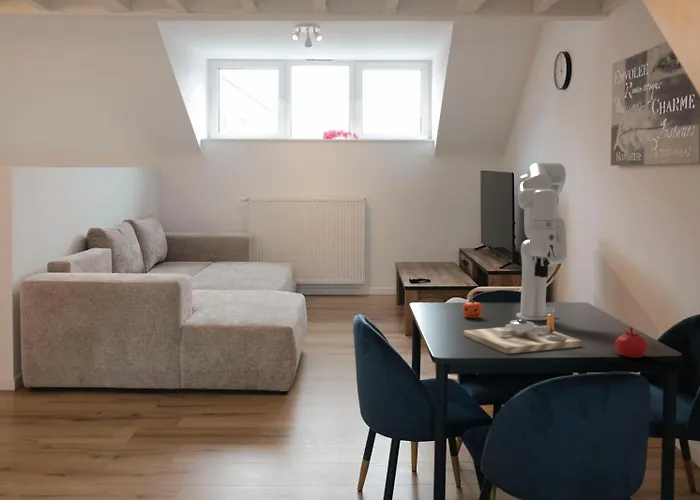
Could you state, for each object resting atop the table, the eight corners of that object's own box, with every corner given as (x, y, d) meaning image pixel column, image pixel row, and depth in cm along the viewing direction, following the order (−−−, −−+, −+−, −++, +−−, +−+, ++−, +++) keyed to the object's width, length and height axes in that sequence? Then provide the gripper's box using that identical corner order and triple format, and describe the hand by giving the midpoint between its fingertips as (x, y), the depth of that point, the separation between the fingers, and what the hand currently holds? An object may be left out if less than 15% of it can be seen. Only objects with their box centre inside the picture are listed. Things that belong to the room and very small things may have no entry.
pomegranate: (630, 361, 221) (632, 332, 219) (607, 353, 230) (608, 325, 228) (654, 358, 225) (656, 329, 223) (630, 350, 234) (632, 322, 232)
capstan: (515, 341, 234) (515, 323, 233) (486, 330, 249) (487, 313, 249) (568, 336, 242) (569, 319, 241) (538, 326, 257) (538, 309, 257)
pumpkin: (463, 315, 288) (464, 297, 288) (483, 316, 286) (484, 298, 285) (460, 318, 281) (461, 300, 280) (480, 320, 279) (481, 301, 278)
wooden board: (534, 330, 262) (534, 324, 262) (581, 346, 238) (581, 340, 238) (463, 335, 251) (463, 329, 251) (505, 353, 227) (506, 347, 227)
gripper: (566, 226, 245) (564, 279, 247) (538, 223, 260) (536, 273, 262) (548, 226, 242) (546, 280, 244) (520, 223, 257) (518, 273, 259)
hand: (540, 276), depth 253 cm, fingers closed
